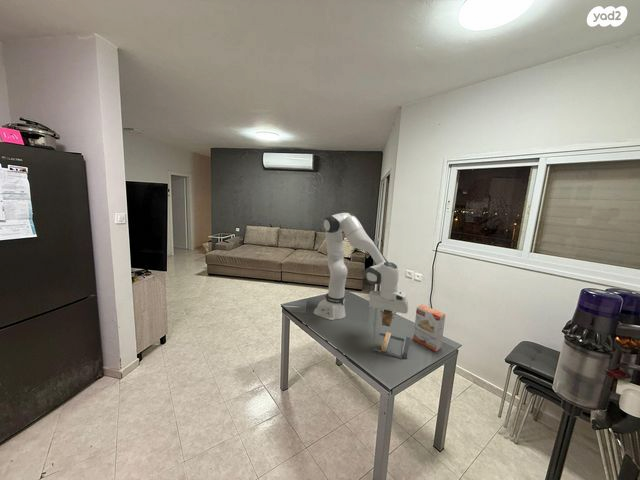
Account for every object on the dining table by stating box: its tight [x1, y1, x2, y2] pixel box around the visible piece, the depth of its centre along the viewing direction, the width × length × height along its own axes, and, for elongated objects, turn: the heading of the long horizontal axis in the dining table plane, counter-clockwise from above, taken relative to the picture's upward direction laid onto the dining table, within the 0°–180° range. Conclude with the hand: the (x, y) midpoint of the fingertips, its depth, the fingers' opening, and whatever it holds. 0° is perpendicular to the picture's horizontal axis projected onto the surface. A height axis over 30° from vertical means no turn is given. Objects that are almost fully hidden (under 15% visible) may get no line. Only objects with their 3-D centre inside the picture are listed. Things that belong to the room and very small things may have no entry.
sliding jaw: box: [380, 331, 392, 352], centre depth 138 cm, size 3×16×3 cm, turn 156°
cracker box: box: [413, 304, 446, 352], centre depth 137 cm, size 14×6×21 cm, turn 36°
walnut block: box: [381, 309, 394, 327], centre depth 132 cm, size 4×8×6 cm, turn 154°
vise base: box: [372, 332, 411, 360], centre depth 136 cm, size 17×19×3 cm
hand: (387, 317), depth 132 cm, fingers closed on walnut block, 4 cm apart
